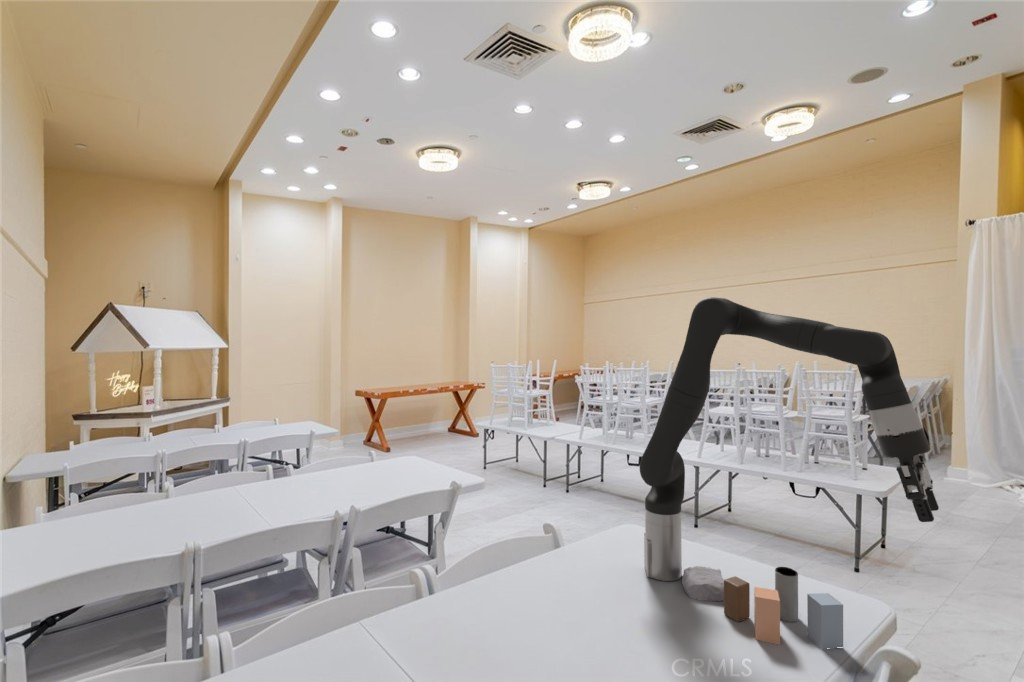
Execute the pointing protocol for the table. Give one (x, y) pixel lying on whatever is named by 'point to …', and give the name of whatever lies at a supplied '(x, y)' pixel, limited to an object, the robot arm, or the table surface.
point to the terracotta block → (767, 615)
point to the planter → (787, 593)
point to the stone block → (703, 583)
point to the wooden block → (736, 598)
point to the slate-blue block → (825, 620)
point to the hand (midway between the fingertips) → (929, 515)
